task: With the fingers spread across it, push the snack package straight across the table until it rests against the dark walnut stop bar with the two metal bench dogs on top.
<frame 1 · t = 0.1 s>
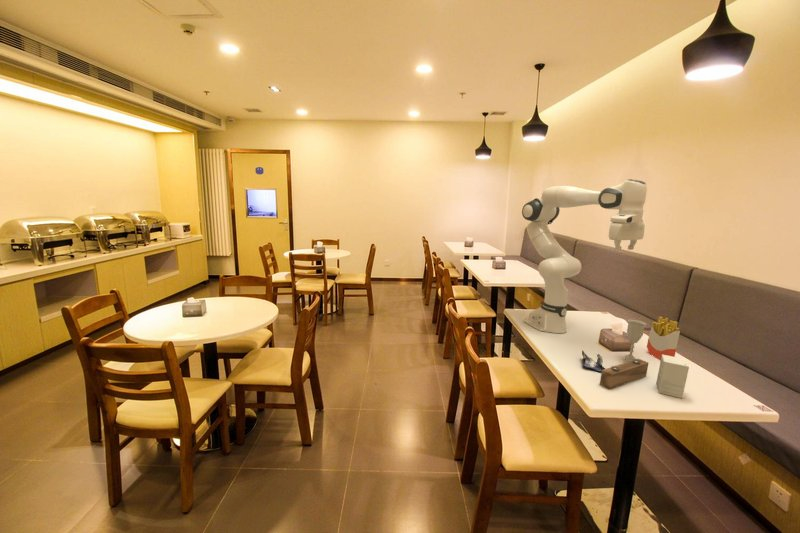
hand: (624, 250, 155), 48 cm above the table, tool pointing down, fingers open, 8 cm apart
supplement box: (668, 391, 132), on the table
french fries container: (658, 357, 161), on the table
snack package: (592, 367, 150), on the table
chalice: (629, 361, 156), on the table
stop bar: (623, 380, 139), on the table
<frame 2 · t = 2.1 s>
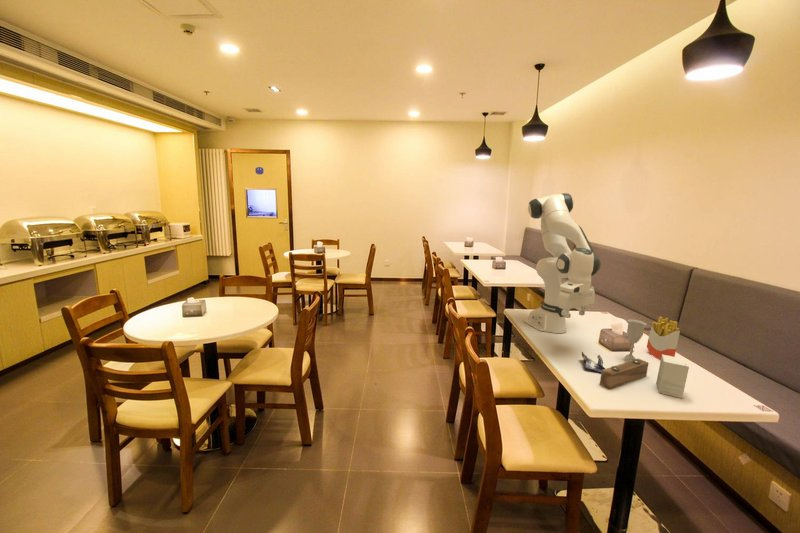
hand: (574, 316, 156), 18 cm above the table, tool pointing down, fingers open, 8 cm apart
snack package: (592, 368, 149), on the table
everything else where it was.
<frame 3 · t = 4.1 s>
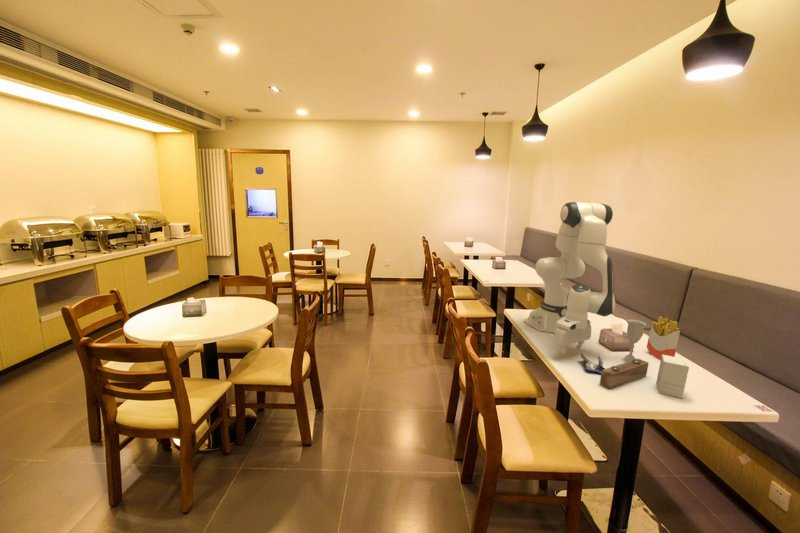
hand: (571, 351, 159), 2 cm above the table, tool pointing down, fingers open, 8 cm apart
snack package: (593, 369, 148), on the table
everything else where it was.
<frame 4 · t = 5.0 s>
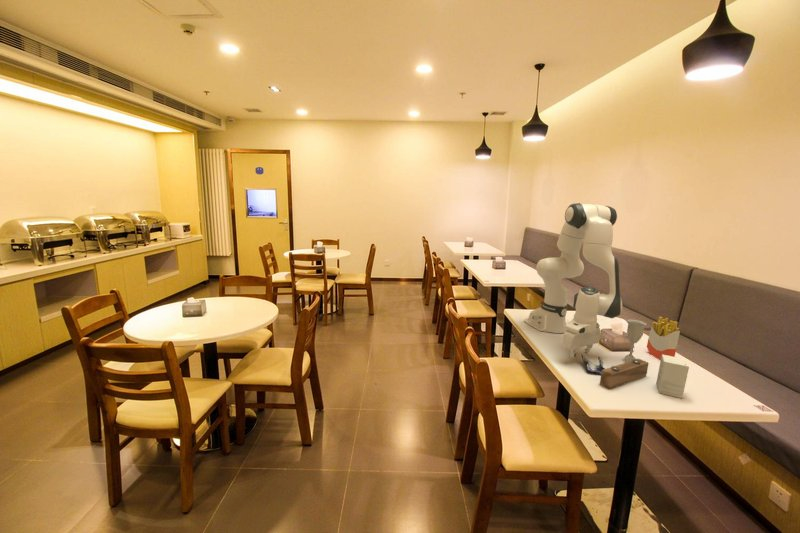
hand: (579, 354, 155), 2 cm above the table, tool pointing down, fingers open, 8 cm apart
nothing on the table moved.
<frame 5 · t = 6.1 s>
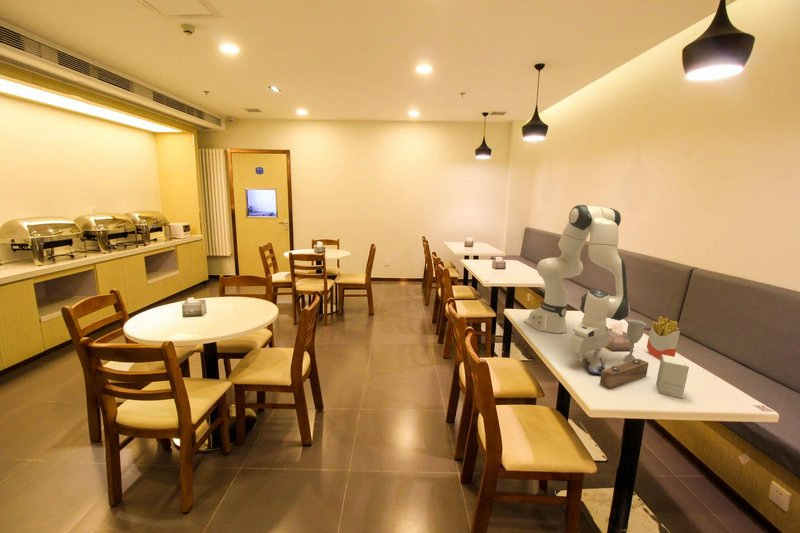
hand: (588, 358, 152), 2 cm above the table, tool pointing down, fingers open, 8 cm apart
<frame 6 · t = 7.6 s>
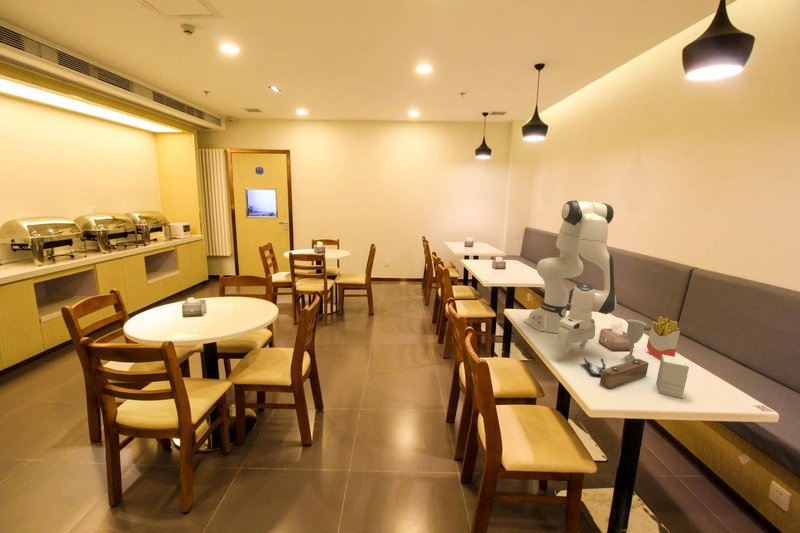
hand: (574, 350, 157), 3 cm above the table, tool pointing down, fingers open, 8 cm apart
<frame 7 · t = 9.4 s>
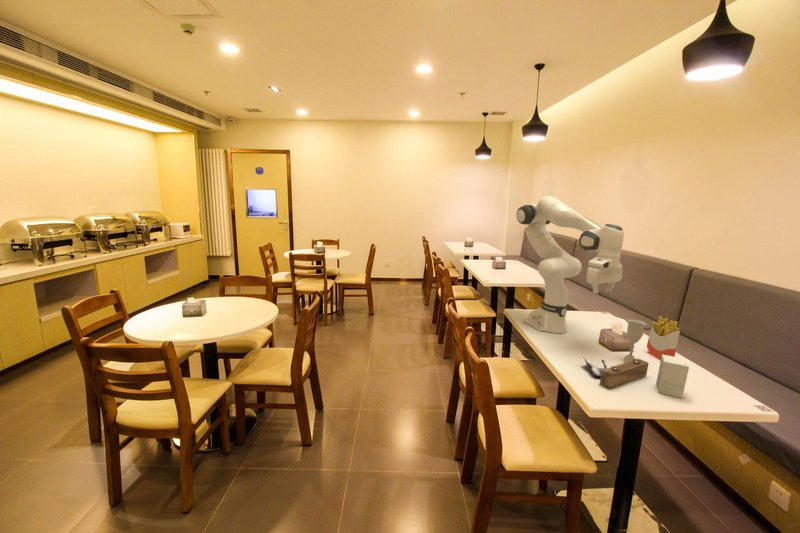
hand: (602, 292, 158), 29 cm above the table, tool pointing down, fingers open, 8 cm apart
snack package: (597, 373, 144), on the table
everything else where it was.
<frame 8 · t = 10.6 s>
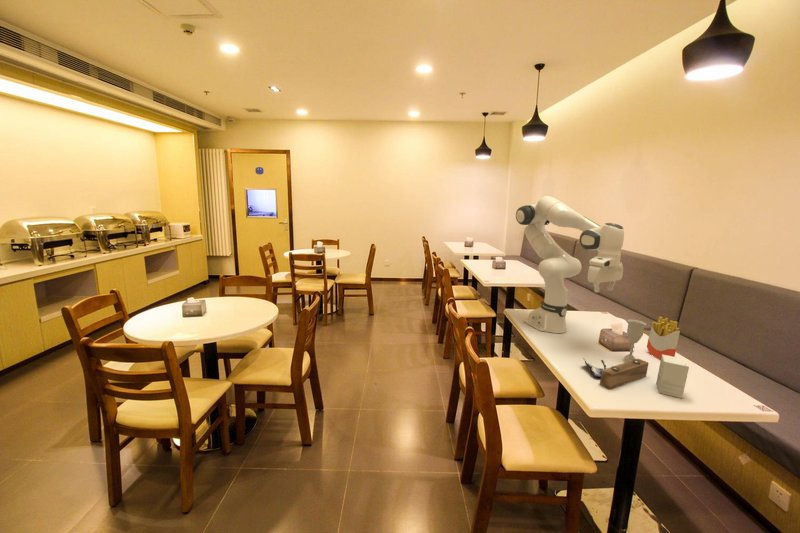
hand: (603, 291, 158), 29 cm above the table, tool pointing down, fingers open, 8 cm apart
nothing on the table moved.
at the end: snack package inside the target area (4.2 cm from its centre), on the table; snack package moved 6.5 cm from its start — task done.
